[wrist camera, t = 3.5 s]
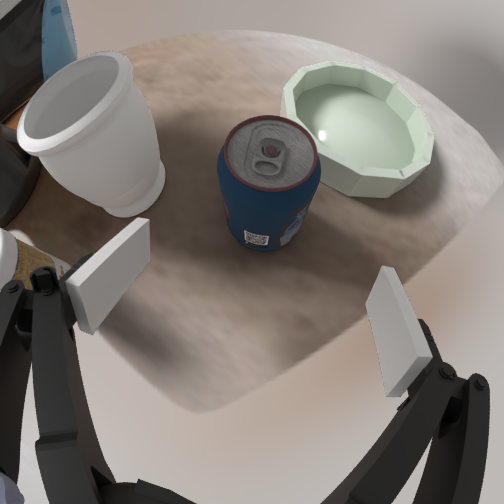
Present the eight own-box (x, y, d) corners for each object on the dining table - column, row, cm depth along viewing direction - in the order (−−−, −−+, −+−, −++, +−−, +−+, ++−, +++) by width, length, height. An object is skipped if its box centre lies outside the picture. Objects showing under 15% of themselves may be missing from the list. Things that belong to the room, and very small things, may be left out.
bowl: (253, 149, 30) (254, 123, 26) (314, 70, 34) (318, 47, 30) (398, 226, 28) (419, 210, 24) (424, 126, 32) (438, 107, 28)
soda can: (239, 183, 29) (232, 101, 18) (304, 198, 29) (332, 122, 17) (219, 244, 27) (197, 183, 16) (290, 262, 27) (318, 212, 15)
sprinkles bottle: (88, 312, 25) (-6, 291, 12) (57, 304, 25) (-34, 280, 13) (95, 269, 27) (8, 225, 14) (64, 264, 27) (-21, 222, 14)
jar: (184, 209, 28) (134, 107, 14) (97, 241, 27) (5, 175, 13) (166, 134, 31) (129, 34, 17) (91, 164, 30) (28, 85, 16)
